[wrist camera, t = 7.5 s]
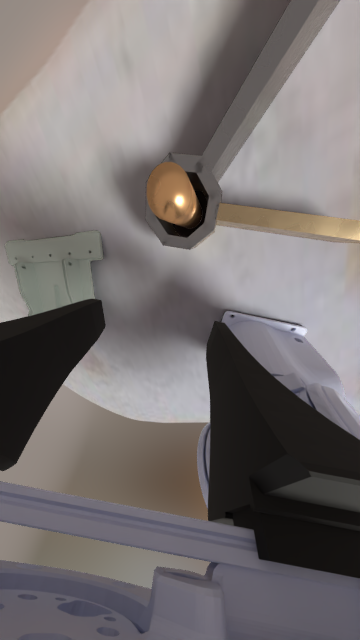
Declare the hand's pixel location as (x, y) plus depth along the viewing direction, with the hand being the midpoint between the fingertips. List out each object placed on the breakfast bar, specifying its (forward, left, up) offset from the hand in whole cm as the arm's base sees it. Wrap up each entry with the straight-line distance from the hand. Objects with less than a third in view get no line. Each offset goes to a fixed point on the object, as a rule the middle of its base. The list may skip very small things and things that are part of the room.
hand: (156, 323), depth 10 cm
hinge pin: (+1, -7, -10) cm, 12 cm away
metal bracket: (+17, +4, -11) cm, 20 cm away
